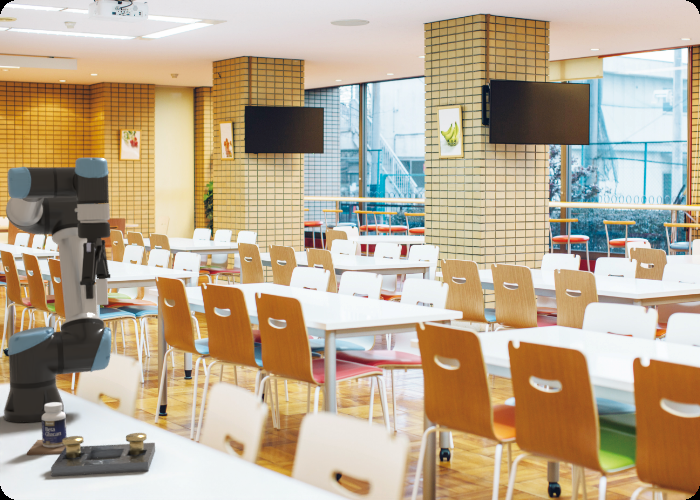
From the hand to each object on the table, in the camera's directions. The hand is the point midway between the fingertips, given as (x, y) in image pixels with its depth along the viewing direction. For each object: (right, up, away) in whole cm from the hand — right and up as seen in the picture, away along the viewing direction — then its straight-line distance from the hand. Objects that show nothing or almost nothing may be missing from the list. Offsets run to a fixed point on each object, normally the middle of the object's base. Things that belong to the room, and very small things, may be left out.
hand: (96, 308), depth 205 cm
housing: (+8, -33, -20) cm, 39 cm away
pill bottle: (-8, -32, -7) cm, 34 cm away
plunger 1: (+1, -31, -21) cm, 37 cm away
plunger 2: (+15, -31, -19) cm, 39 cm away
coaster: (-8, -32, -7) cm, 34 cm away
